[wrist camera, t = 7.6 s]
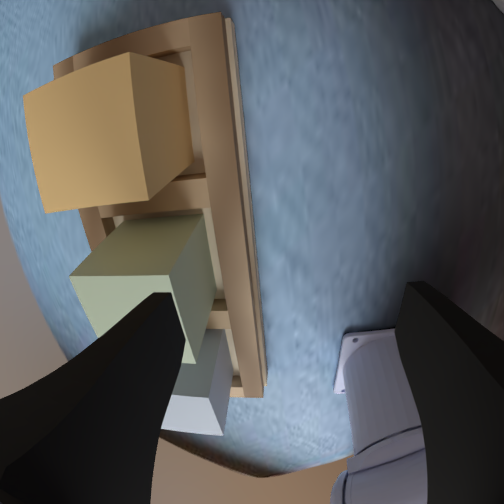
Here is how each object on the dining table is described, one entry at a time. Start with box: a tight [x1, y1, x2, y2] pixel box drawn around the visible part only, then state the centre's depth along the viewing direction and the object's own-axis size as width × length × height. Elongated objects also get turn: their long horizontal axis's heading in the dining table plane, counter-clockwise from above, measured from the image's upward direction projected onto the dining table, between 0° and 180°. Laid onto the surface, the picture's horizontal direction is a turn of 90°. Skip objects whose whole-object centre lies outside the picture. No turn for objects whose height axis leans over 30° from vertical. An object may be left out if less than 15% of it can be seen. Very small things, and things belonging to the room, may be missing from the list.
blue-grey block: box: [161, 329, 234, 436], centre depth 18 cm, size 5×5×6 cm
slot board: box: [53, 12, 268, 398], centre depth 17 cm, size 10×26×3 cm, turn 5°
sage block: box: [69, 214, 217, 364], centre depth 15 cm, size 5×5×6 cm
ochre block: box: [23, 52, 194, 213], centre depth 11 cm, size 5×5×6 cm
